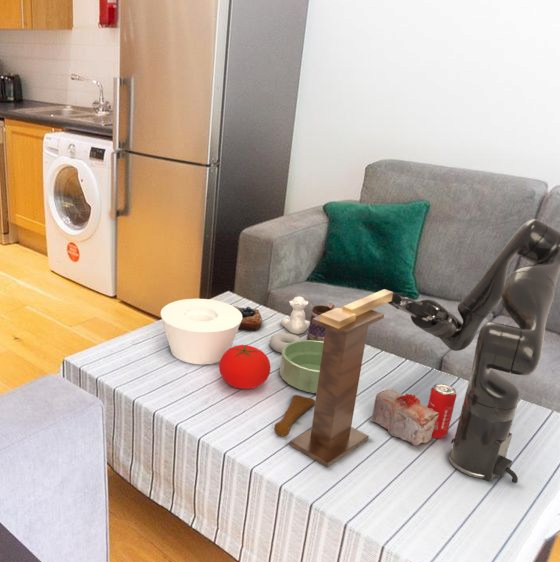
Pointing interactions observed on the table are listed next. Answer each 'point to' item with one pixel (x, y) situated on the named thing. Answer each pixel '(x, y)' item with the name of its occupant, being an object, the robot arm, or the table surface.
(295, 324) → the white creature statuette
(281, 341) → the donut
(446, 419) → the beverage can
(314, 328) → the mug
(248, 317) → the pastry
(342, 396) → the stand
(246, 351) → the tomato
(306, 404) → the primitive tool
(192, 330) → the white tapered cylinder
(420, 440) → the food item
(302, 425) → the table surface
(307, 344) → the mixing bowl
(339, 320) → the wooden paddle
